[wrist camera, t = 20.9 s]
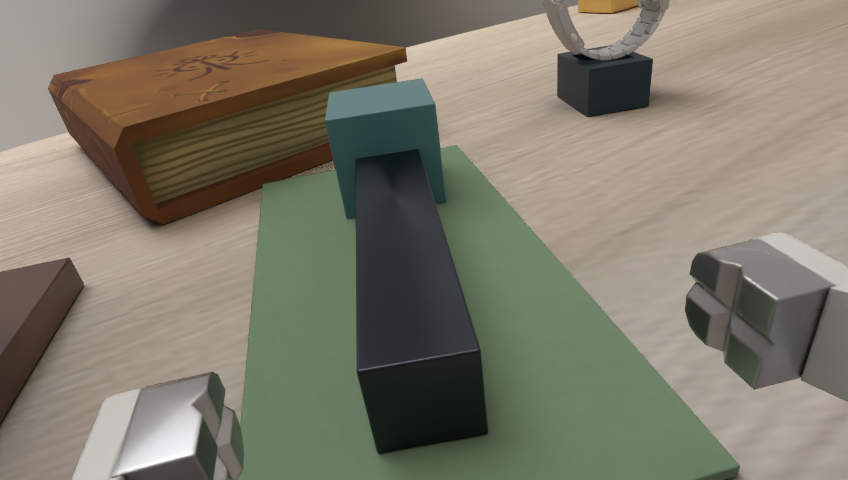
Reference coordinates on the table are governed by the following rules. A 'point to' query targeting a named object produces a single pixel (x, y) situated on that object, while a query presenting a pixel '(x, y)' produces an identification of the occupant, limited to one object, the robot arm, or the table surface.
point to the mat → (500, 349)
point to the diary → (214, 114)
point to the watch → (605, 63)
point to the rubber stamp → (605, 5)
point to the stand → (31, 318)
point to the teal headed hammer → (404, 270)
